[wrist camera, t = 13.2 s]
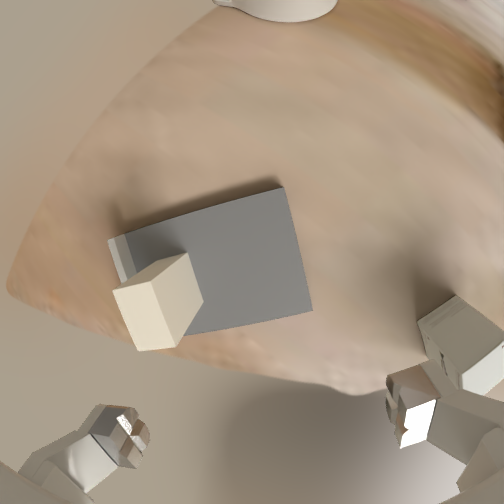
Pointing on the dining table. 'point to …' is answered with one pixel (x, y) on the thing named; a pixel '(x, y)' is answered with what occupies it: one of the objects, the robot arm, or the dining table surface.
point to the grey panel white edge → (228, 259)
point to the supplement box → (464, 345)
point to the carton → (160, 302)
